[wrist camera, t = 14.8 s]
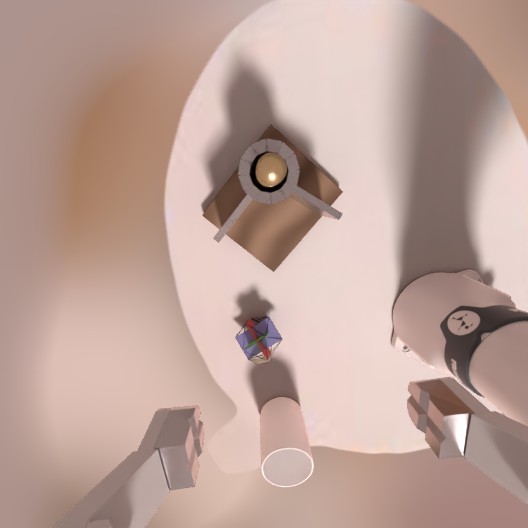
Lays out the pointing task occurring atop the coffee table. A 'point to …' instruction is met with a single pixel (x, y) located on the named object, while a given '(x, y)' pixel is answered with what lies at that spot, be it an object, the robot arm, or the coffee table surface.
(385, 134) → the coffee table surface
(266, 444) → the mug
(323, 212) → the grey socket block
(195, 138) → the coffee table surface
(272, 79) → the coffee table surface
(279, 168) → the pin
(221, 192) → the base board
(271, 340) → the geometric puzzle
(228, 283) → the coffee table surface
